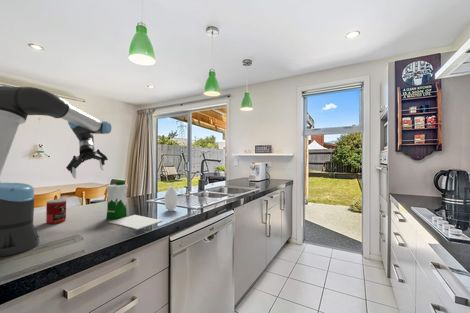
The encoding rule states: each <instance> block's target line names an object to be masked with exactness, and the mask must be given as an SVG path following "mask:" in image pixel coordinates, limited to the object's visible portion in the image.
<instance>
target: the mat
mask: <svg viewBox="0 0 470 313" xmlns="http://www.w3.org/2000/svg"><path fill="white" fill-rule="evenodd" d="M163 221H164V220H162V219H159V218H157V219H156V218H152V217H147V216H143V215H138V214H133V215H129V216H126V217H123V218H120V219H117V220H116V219H112V220H110V221H108V223H109V224H114V225H116V226H121V227H124V228H129V229H132V230H136V231H138V230H140V229H141V230H142V229H144V228H148V227H150V226H153V225H156V224H159V223H162V222H163Z"/></svg>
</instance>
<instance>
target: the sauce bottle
mask: <svg viewBox="0 0 470 313" xmlns="http://www.w3.org/2000/svg"><path fill="white" fill-rule="evenodd" d="M172 183H173V182H171V183H170V186H169V187H168V189H167V190H166V192H165V196H164V199H163V200H164V201H163V203H164V207H165V209H166V210H167V211H169V212H173V211H174V210H175V209H176V208H177V206H178V194H177V191H176V189H175V188H174V186H172V185H173V184H172Z"/></svg>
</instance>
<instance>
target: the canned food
mask: <svg viewBox="0 0 470 313" xmlns="http://www.w3.org/2000/svg"><path fill="white" fill-rule="evenodd" d="M45 217H46V219H45V221H46V224H47V225H58V224H61V223H64V222H66V219H67V199H66V198H65V199H64V198H58V199H57V198H56V199H55V198H54V199H49V200H46V216H45Z"/></svg>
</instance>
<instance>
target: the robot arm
mask: <svg viewBox="0 0 470 313" xmlns="http://www.w3.org/2000/svg"><path fill="white" fill-rule="evenodd" d="M28 116H45V117H52V118H54V119H63V120H65V121H66V122H67V123H68V126H69V128H70V129H71V131H72V132H73V133H74V135H75V136H76V137H75V138H77V140H78V141H79V142H78V143H79V144H78V145H79V148H78V149H79V155H77V156H76V155H73V157H72V159H71V160H70V162H69V163H68V165H66V167H65V168H66V170H68V172H70V174H71V176H72V178H74V179H77V169H78V167H79V166H80V165H81V164H82V163H84V162H85V161H88V160H90V161H91V160H96V161H99V168H100V169H101V171H104V170H105V169H104V166H105V164H106V163H105V161H108V156H106V155H105V154H104V153H103V152H102V151H100V149H97V150H95V141H94V134H96V135H97V134H98V135H105V134H106V135H107V134H110V133H111V132H112V127H113V126H112V124H111V123H110V122H109V121H104V120H103V121H102V120H99V119H98V118H96V117H94V116H92V115H90V114H87V113H86V112H84V111H82V110H80V109H78V108H76V107H74V105H73V106H72V104H70V103H69V102H68V101H67V99H64V98H63V97H60V96H58V94H55V93H52V92H50V91H47V90H45V89H42V88H38V87H32V86H9V85H8V86H7V85H5V86H4V85H0V176H1V174H2V172H3V170H4V166H5V164H6V161H7V158H8V155H9V153H10V150H11V147H12V145H13V142H14V139H15V136H16V134H17V132H18V128H19V125H23V124H25V123H26V121H27V119H28ZM34 189H35V188H34V187H33V186H32V185H30V184H28V183H23V182H21V183H20V182H2V181H0V258H3V257H7V256H12V255H17V254H19V253H23V252H26V251H29V250H31V249H33V248H35V247H37V246H38V245H39V244H40V236H39V234H38V232H37V229H36V226H35V224H34V211H35V210H34V209H35V197H36V196H35V190H34Z"/></svg>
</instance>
